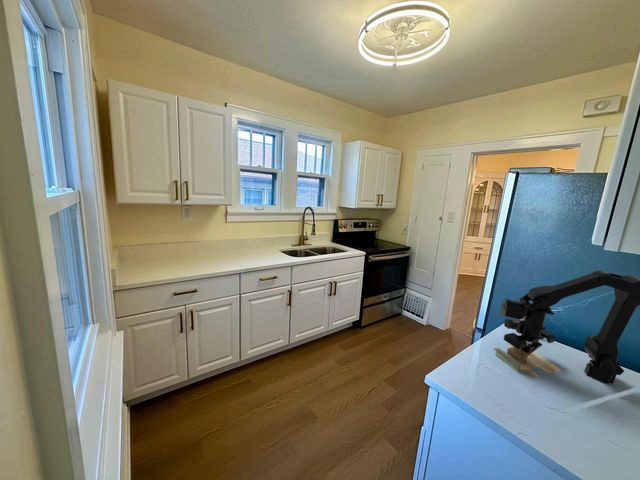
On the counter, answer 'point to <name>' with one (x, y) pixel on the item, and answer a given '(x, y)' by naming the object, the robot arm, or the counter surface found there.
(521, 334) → the robot arm
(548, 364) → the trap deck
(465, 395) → the counter surface
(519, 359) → the walnut block
